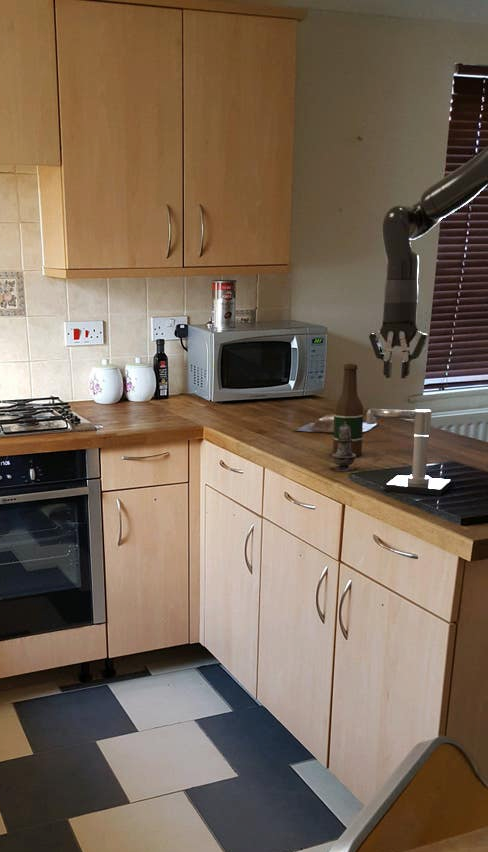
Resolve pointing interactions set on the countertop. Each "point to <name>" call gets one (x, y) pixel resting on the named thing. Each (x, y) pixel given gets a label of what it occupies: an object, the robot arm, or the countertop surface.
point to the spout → (420, 418)
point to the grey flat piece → (327, 425)
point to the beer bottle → (349, 411)
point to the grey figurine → (344, 450)
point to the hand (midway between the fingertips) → (396, 377)
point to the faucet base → (418, 488)
